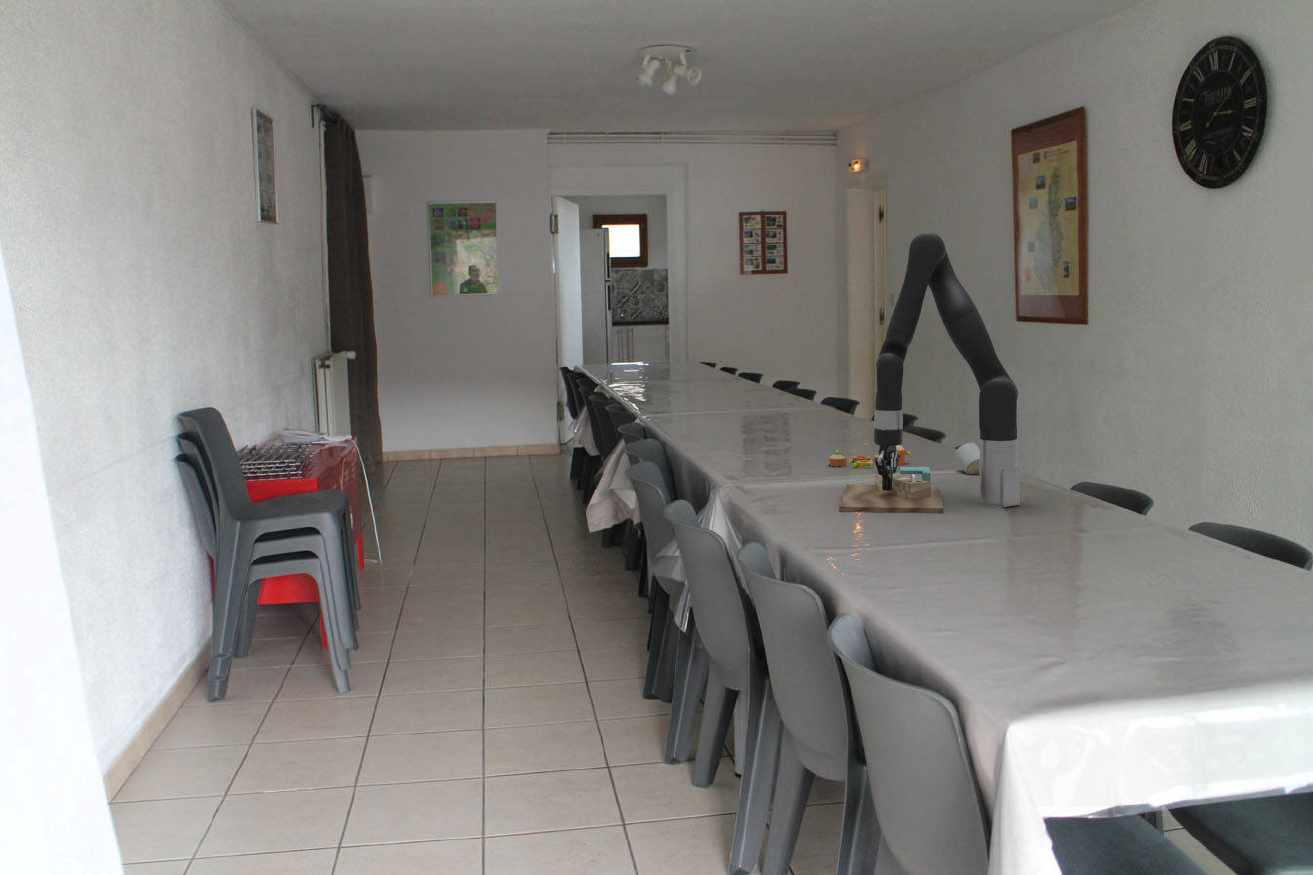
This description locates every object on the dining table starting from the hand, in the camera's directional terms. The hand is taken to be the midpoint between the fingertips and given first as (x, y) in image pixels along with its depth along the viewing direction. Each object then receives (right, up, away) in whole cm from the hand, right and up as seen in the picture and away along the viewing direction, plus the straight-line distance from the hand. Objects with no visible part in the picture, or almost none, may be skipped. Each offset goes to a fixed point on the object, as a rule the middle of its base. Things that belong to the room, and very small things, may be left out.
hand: (886, 490), depth 279 cm
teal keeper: (+9, 0, +6) cm, 11 cm away
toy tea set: (+6, +3, +55) cm, 56 cm away
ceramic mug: (+36, +3, +37) cm, 51 cm away
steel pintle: (+6, -2, -5) cm, 8 cm away
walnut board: (+1, -2, -2) cm, 3 cm away
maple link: (+4, -1, +2) cm, 4 cm away
